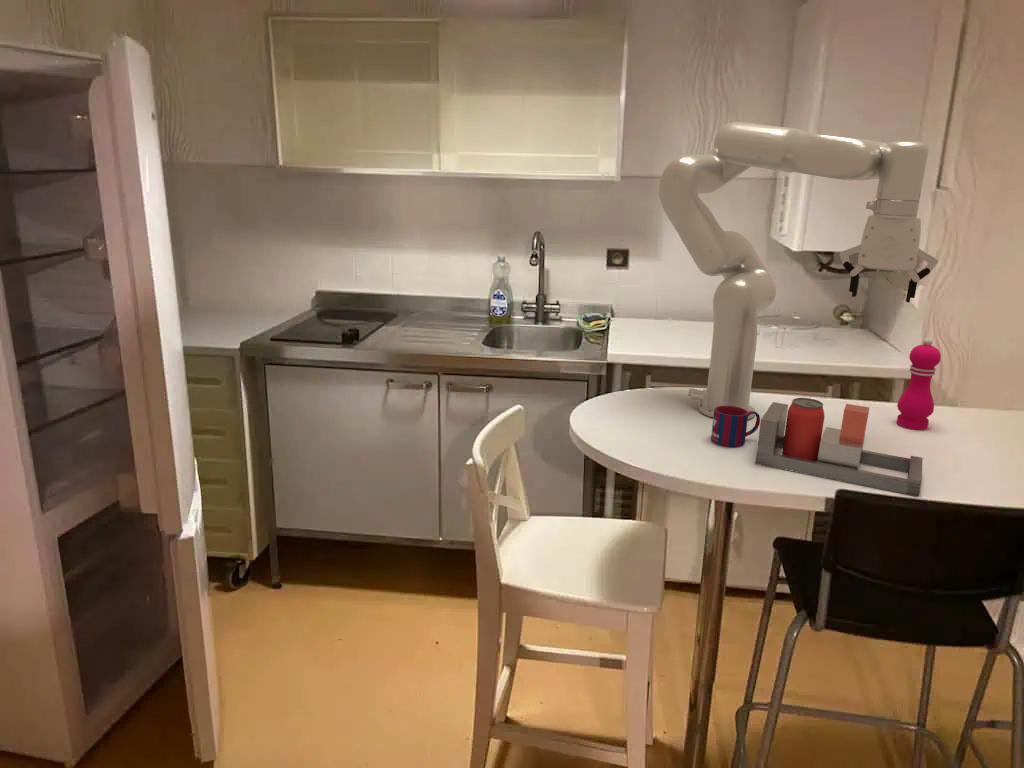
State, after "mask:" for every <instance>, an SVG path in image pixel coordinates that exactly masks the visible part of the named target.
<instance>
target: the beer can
mask: <svg viewBox="0 0 1024 768" xmlns="http://www.w3.org/2000/svg"><path fill="white" fill-rule="evenodd" d="M823 406H824V404H823V402H822V401H820V400H818V399H813V398H809V397H796V398H794V399H793V398H792V400H791V403H790V406H788V410H787V418H786V425H785V432H784V443H783V449H782V452H781V455H786V456H791V457H796V458H802V459H807V460H812V461H817V460H818V454H819V447H820V441H821V439H822V436H823V429H824V428H823V427H824V424H825V423H824V421H825V416H826V415H825V410H824V407H823Z"/></svg>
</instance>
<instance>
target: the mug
mask: <svg viewBox="0 0 1024 768" xmlns="http://www.w3.org/2000/svg"><path fill="white" fill-rule="evenodd" d="M751 414H755V417H756V418H755V420H756V421H755V424H754V426H753V427H752V429H750V430H749V431H747V427H748V420H749V419H748V416H749V415H751ZM712 418H713V420H712V425H711V428H712V429H711V435H710V436H711V437H710V441H711V443H713V444H715V445H718V446H721V447H724V448H740V447H743V446H744V445H745V444H746V443H745V442H746V437H748V436H751V435H752V434H754V433H755V432H756V431H757V430H758V428H759V427H760V423H761V416H760V414H759V413H758V412H756V410H755V411H749V412H748V411H747V410H745V409H743V408H740V407H736V406H729V405H723V406H717V407H715V409H714V417H712Z"/></svg>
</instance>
